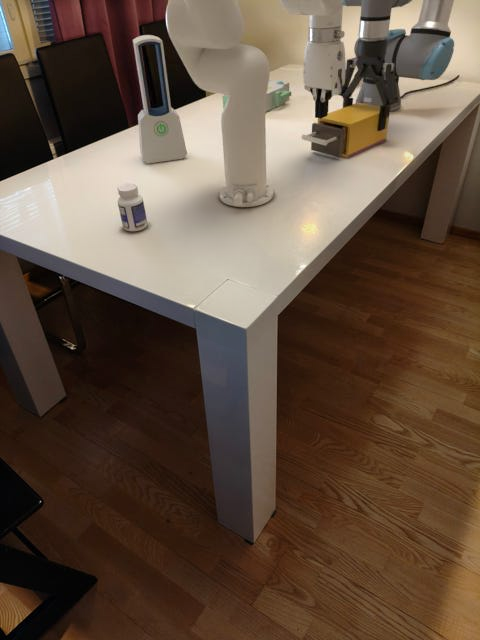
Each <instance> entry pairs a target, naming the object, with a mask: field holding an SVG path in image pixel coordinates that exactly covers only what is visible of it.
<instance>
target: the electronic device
mask: <svg viewBox="0 0 480 640" xmlns="http://www.w3.org/2000/svg"><path fill="white" fill-rule="evenodd" d="M163 42H164V41H163V40H162V39H161V38H160V37H159V36H155V35H152V34H143V35H139V36H137V37H135V38H133V39H132V45H133V50H134V57H135V64H136V70H137V77H138V82H139V88H140V93H141V94H140V95H141V100H142V108H143V109H141V110H140V111H139V113H138V114H137V123H138V125H137V126H138V139H139V151H140V152H139V153H140V155H141V159H142V160H143V161H144V162H145V163H146V164H148V165H149V164H154V163H162V162H163V163H164V162H170V161H177V160H183V159H185V158H186V157H187V154H188V151H187V146H186V142H185V137H184V132H183V128H182V124H181V123H182V122H181V118H180V115H179V114H178V112H177V111H176V110H175V109H174V108H173V107H172V104H171V97H170V96H171V95H170V87H169V80H168V73H167V65H166V64H167V63H166V58H165V49H164V43H163ZM146 45H155V52H156V60H157V65H158V66H157V68H158V74H159V83H160V89H161V98H162V104H163V105H161V106H160V107H151V106H150V105H151V104H150V99H149V92H148V86H147V79H146V71H145V67H144V66H145V65H144V60H143V59H144V58H143V53H142V47H143V46H146Z"/></svg>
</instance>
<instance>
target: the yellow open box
mask: <svg viewBox="0 0 480 640" xmlns="http://www.w3.org/2000/svg"><path fill="white" fill-rule="evenodd" d="M379 113H380V107H379V106H373V105H368V104H362V103H356V102H355V103H353V105H350V106H347V107H344V108H343V107H342V108H339V109H337V110H333V111H331V112H328V115H327V116H326V117H323V118H321V119H320V118H317V123H318V124H320V123H321V122H328V123H332V124H337V125H341V126H346V127H348V131H347V143H346V152H344V153H342V156H341V158H346V159H349V158H352V157H354V156H356V155H359V154H361V153H362V152H364V151H367V150H369V149H371V148H374V147H376V146H378V145H381V144H382V143H384V142H387V134H388V128H389V119H390V116H389V117H388V118H387V119H386V126H385V129H383V130H381V131H377V130H378V122H379Z"/></svg>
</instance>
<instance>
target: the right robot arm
mask: <svg viewBox="0 0 480 640" xmlns="http://www.w3.org/2000/svg"><path fill="white" fill-rule="evenodd" d="M411 2H413V0H344V2H343V6H344V7H360V8H361V9H360V17H359V25H358V26H359V27H358V35H357V36H358V38H361V39H360V40H359V41H358V48H357V55H358V58H357V59H355V57H351V58H348V59H347V60H346V64H345V84H344V85H343V86H341V94H339V95H338V96H340V97H341V98H342V108H344V107H347V106H350V105H353V104H354V97H353V94H354V92H355V91H356V89H357V88H358V86H359V85H360V84H361V81H362V84H361V87H360V89H359V92H358V93H357V97H356V100H355V103H362V104H368V105H373V106H379V107H380V113H379V122H378V130H377V131H381V130H383V129H385V126H386V119H387V118H388V117H389V118H390V113H395V112H398V111H399V110H400V109H401V107H402V99H403V98H404V97H406V95H408V94H412V93H417V92H423V91H427V90H432V89H437V88H440V87H443V86H446V85H449V84H452V82H454V81H456V80H457V79H458V78H459V77H460V74H458V75H457V76H455V77H454V78H452V79H450V80H448V81H446V82H443V83H440V84H436V85H432V86H427V87H422V88H418V89H413V90H409V91H406V92H404V93H403V94H402V95H401V92H400V85H399V80H400V78H405V79H413V80H414V79H415V80H421V81H436V80H438V79H439V78H441V77H442V76H443V74H444V73H445V72H446V70H447V69H448V67H449V65H450V63H451V60H452V58H453V54H454V47H455V40H454V38H452V37H451V33H452V31H451V29H450V26H449V21H450V18H451V13H452V10H453V6H454V2H455V0H423V1H422V4H421V9H420V13H419V16H418V21H417V23H416V24H414V25H413V26H412V27H411V28H410V33H409V34H408V35H407V31H406V29H405V28H396V29H390V24H391V16H392V15H391V14H392V9H394V8H402V7H405V6H406V5H408V4H410V3H411ZM355 69H357V71H356V72H355ZM354 72H355V74H354ZM353 75H354V77H353ZM352 77H353V78H352Z"/></svg>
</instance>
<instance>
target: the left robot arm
mask: <svg viewBox="0 0 480 640" xmlns="http://www.w3.org/2000/svg"><path fill="white" fill-rule="evenodd" d="M278 1H279V4H280V6H281V8H282V9H283V10H284V11H285V12H286V13H288V14H291V15H297V16H308V41H307V42H306V45H305V49H304V56H303V66H302V81H303V84H304V90H306V91H308V92H310V94H311V95H312V99H313V101H314V118H315V119H318V118H320V119H321V118H323V117H326V116H327V115H328V113H329V103H330V100H332V97H334V96H339V94H341V86H343V85H344V84H345V71H346V48H345V43H344V41H343V40H341V39H343V38H344V37H345V35H346V34H345V31H344V30H342V25H343V10H344V9H343V8H344V7H343V6H344V5H343V2H344V0H278ZM165 26H166V29H167V34H168V37H169V39H170V40H171V43H172V45H173V47H174V48H175V51H176V52H177V54H178V56H179V58H180V60H181V62H182V64H183V66H184V67H185V69H186V71H187V73H188V74H189V76H190V78H191V80H192V82H193V83H194V84H195V85H196V86H197V87H198V88H199V89H200V90H203V91H205V92H208V93H212V94H218V95H219V94H220V95H227V96H228V99H227V102H226V105H225V107H224V110H222V113H221V117H220V118H221V119H220V126H221V137H222V153H223V166H224V180H225V181H224V182H225V186H224V187H223V188H222V189H220V191H219V199H220V201H221V202H222V203H224V204H225V205H227V206H231V207H236V208H253V207H258V206H261V205H264V204H266V203H269V202H270V201H271V200H272V199H273V197H274V189H273V188H272V187H271V186H270V185H268V184H267V132H266V131H267V130H266V112H265V107H266V95H267V88H268V82H269V81H270V75H271V74H270V73H271V71H270V70H271V67H270V62H269V59H268V57H267V55H266V54H265V53H264V52H263V51H262V50H261V49H260V48H258V47H256V46H253V45H250V44H244V43H240V42H241V41H242V39H243V37H244V35H245V34H244V33H245V21H244V16H243V13H242V10H241V7H240V4H239V2H238V0H168V1H167V5H166V10H165Z"/></svg>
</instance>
